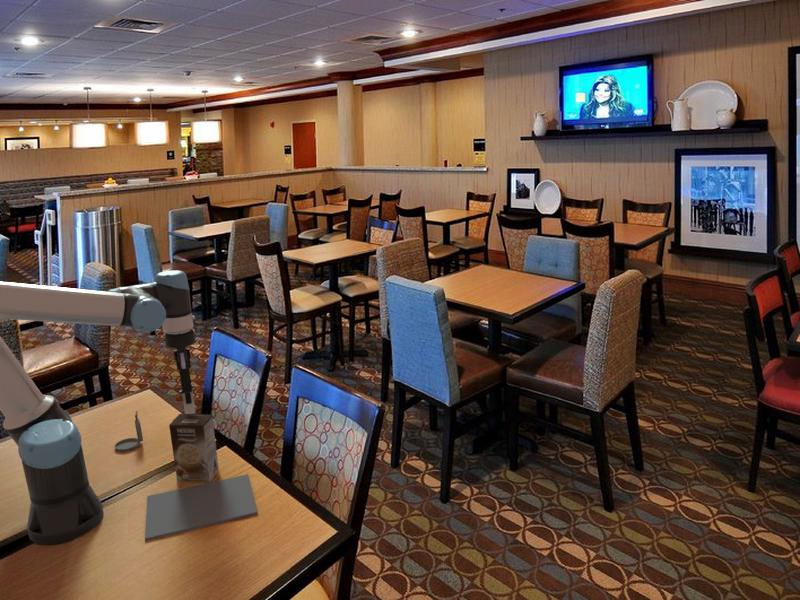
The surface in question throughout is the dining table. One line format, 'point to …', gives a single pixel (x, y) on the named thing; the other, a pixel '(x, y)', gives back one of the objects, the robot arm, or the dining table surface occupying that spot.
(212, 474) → the coffee box
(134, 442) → the pocket watch
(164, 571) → the dining table surface
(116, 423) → the dining table surface
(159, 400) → the dining table surface
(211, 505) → the mat
